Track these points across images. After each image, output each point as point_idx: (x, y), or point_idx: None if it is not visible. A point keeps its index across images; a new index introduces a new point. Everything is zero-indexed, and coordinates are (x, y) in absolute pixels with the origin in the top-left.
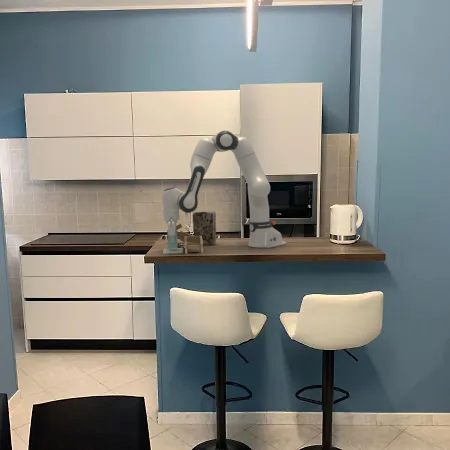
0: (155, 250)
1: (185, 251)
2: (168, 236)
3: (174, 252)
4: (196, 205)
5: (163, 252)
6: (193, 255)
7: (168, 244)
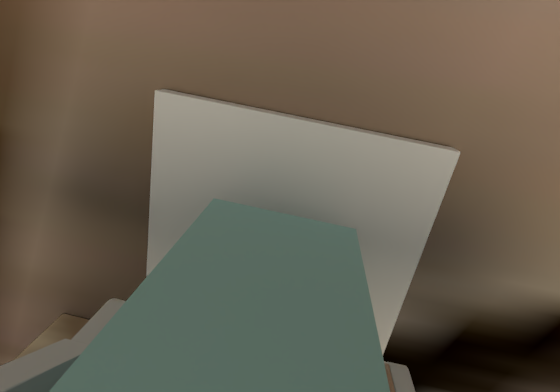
0: (531, 5)
1: (38, 340)
2: (87, 365)
3: (150, 238)
4: None
5: (159, 99)
6: (6, 360)
7: (187, 231)
